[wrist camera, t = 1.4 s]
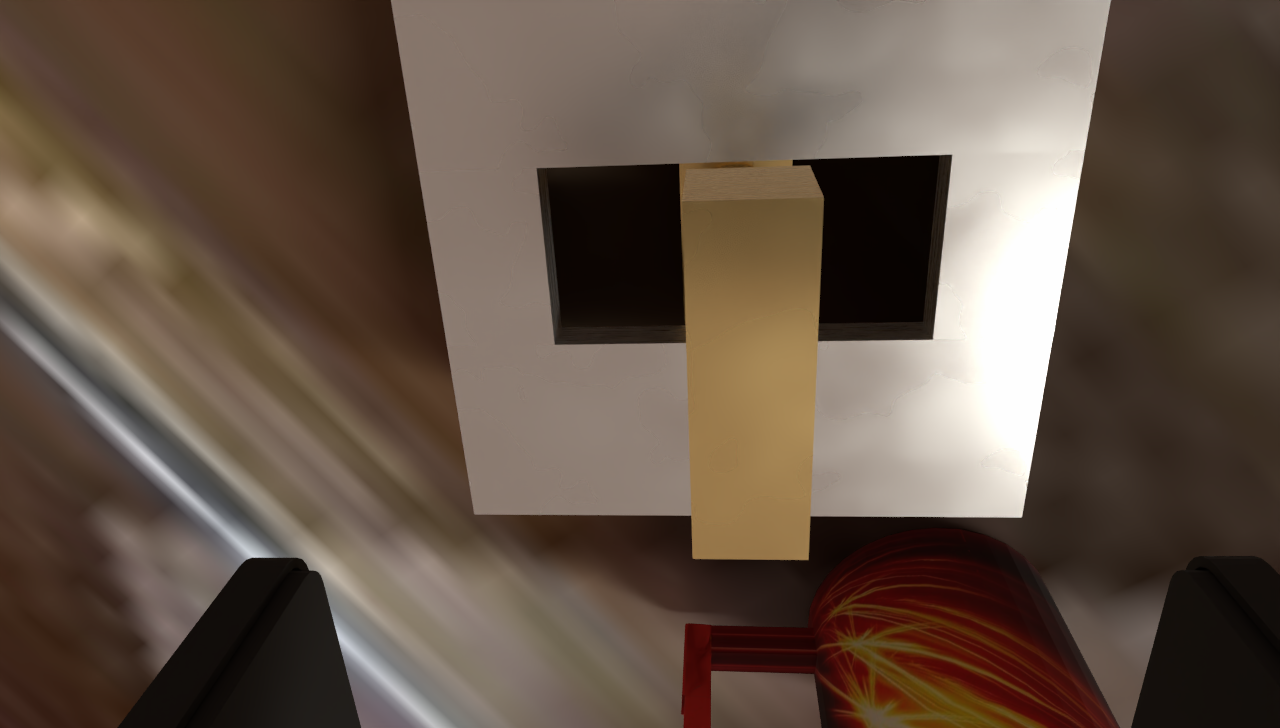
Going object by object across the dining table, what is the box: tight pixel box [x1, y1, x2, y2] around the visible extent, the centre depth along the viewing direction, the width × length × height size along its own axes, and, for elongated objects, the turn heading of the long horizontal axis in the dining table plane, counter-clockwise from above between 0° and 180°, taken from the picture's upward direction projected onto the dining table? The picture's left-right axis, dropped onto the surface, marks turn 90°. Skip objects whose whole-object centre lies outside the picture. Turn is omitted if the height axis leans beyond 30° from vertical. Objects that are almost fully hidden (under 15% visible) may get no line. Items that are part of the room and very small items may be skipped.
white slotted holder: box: [391, 0, 1111, 517], centre depth 25 cm, size 16×16×7 cm
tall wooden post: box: [679, 160, 824, 560], centre depth 21 cm, size 3×8×14 cm, turn 3°
